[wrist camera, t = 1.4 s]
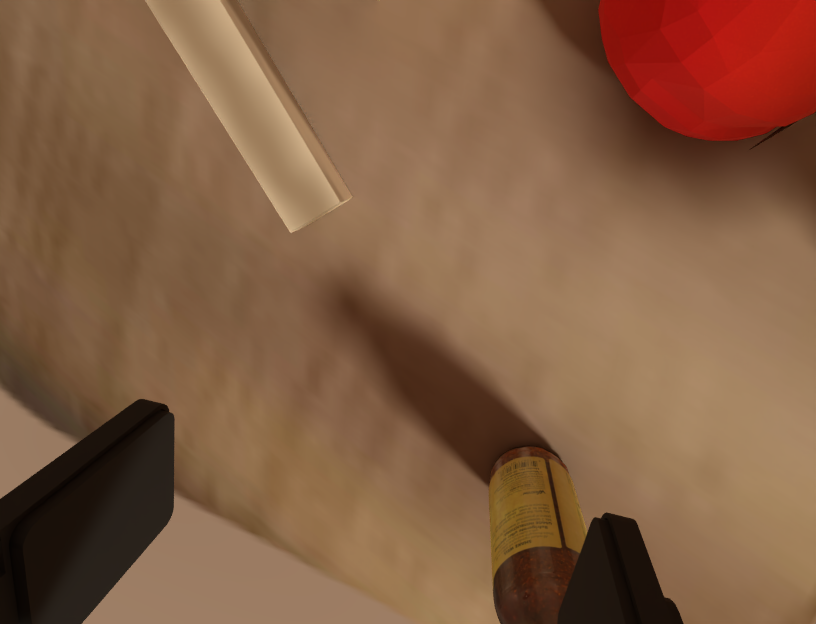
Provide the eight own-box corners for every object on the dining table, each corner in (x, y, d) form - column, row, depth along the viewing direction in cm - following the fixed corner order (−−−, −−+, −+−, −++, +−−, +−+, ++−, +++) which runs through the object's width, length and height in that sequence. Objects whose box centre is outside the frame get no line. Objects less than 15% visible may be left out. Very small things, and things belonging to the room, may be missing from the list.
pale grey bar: (180, -96, 31) (149, -119, 28) (353, 197, 35) (340, 202, 32) (134, -53, 32) (100, -72, 29) (306, 225, 36) (290, 233, 33)
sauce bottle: (477, 492, 41) (463, 787, 22) (506, 429, 39) (516, 698, 20) (556, 521, 40) (607, 846, 22) (589, 460, 38) (677, 761, 20)
